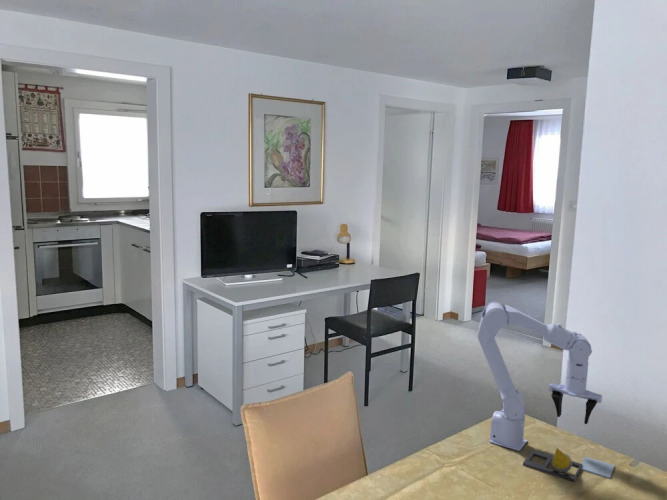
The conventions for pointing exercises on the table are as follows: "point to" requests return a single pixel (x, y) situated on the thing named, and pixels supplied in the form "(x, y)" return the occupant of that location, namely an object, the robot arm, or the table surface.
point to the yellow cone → (561, 461)
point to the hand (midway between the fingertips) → (572, 419)
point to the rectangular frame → (546, 464)
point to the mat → (597, 467)
